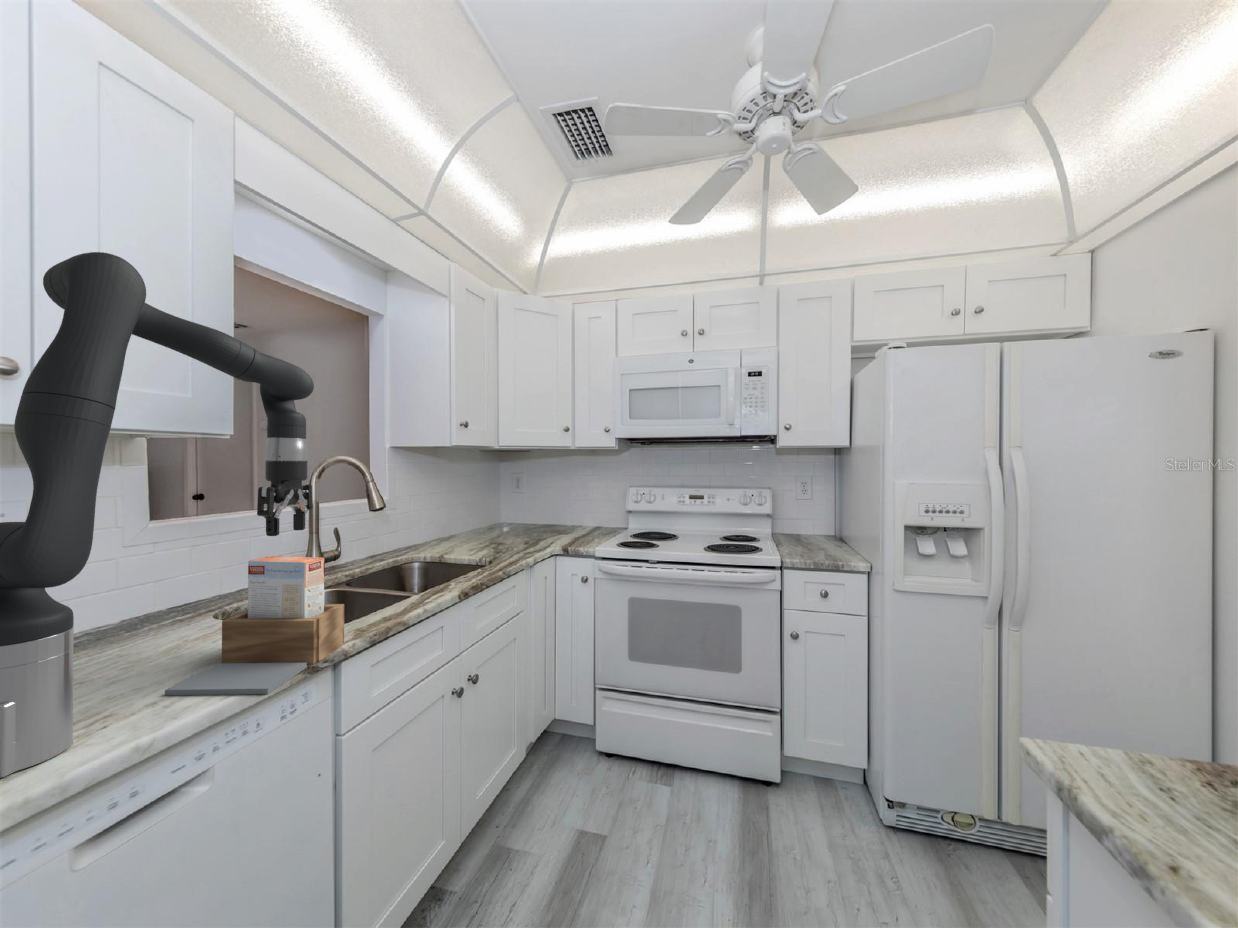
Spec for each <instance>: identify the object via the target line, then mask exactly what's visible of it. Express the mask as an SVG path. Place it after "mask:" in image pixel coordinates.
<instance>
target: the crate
mask: <svg viewBox="0 0 1238 928" xmlns="http://www.w3.org/2000/svg"><path fill="white" fill-rule="evenodd" d="M344 643H345V604H344V603H324V612H323V613H321V614H319V615H317V616H316V617H314V618H248V609H247V610H244V611H241V612H238V613H237V614H235V615H231V616H229V617H226V618H224V620H222V621H221V663H307V665H309V664H310V665H311V664H312V665H313V664H315V663H316V662H321V660H323V659H324V658H326V657H327V656H329V655H330V654H332V653H333V652H335V651H336V650H338V649H339V648H340V647H342V646H343V645H344Z"/></svg>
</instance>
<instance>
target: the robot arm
mask: <svg viewBox="0 0 1238 928" xmlns="http://www.w3.org/2000/svg"><path fill="white" fill-rule="evenodd" d="M42 277H43V278H42V285H43V288H44V291H45V293H46V294H47V296H48V297H49V298H50V300H51V301H52V302H53V303H54V304H56V305H57V306H58V307H59V308H61V309H62V310H63V315H62V316H63V317H62V321H61V324H60V326H59V328H58V331H57V333H56V335H55V336H54V338H53V339H52V341H51V343H50V344H49V345H48V347H47V348H46V350H45V351H44V353H42V356H41V357H40V358H39V359H38V361H37V363H36V364H35V366H34V367H33V369H32V371H31V372H30V373H29V376H28V378H27V380H26V382H25V384H24V387H23V389H22V393H21V396H20V399H19V403H18V406H17V409H16V414H15V419H14V433H15V434H14V435H15V438H16V441H17V444H18V446H19V449H20V452H21V453H22V456H23V458H24V460H25V462H26V464H27V466H28V468H29V471H30V474H31V479H32V484H33V485H32V487H33V489H32V496H31V501H30V505H29V510H28V513H27V515H26V516H27V517H26V519H25V521H3V522H0V778H5V777H7V776H9V775H11V774H13V773H16V772H18V771H21V770H24V769H26V768H27V769H28V768H30V767H32V766H33V767H34V766H35V765H37V764H40V763H43V762H46V761H48V760H49V759H52V758H54V757H56V756H58V755H59V754H61V753H63V752H65V751H66V750H67V749H69V747H71V745H72V744H73V737H74V736H73V735H74V733H73V732H74V635H75V634H74V632H75V631H74V618H75V617H74V612H73V609H72V608H71V607H69V606H68V605H65V604H63V603H61V602H59V601H57V600H55V599H54V598H53V597H51V595H50V594H49V593H48V592H47V591H46V589H48V588H55V587H60V586H62V585H65V584H67V583H68V582H71V581H72V580H74V579H75V578H76V577H77V576H78V575H79V574H80V573H81V572H82V570H83V569H84V568H85V567H86V565H87V563H88V560H89V558H90V555H91V551H92V546H93V542H94V541H93V540H94V529H95V517H96V516H95V515H96V503H97V493H98V487H99V482H100V477H101V472H102V466H103V460H104V455H105V454H104V453H105V450H106V445H107V442H108V438H109V435H110V432H111V428H112V424H113V419H114V414H115V411H116V407H117V400H118V393H119V390H120V386H121V382H122V377H123V371H124V366H125V358H126V354H127V349H128V345H129V342H130V340H131V338H132V337H131V336H136V337H138V338H141V339H143V340H147V341H149V342H151V343H155V344H157V345H160V346H162V347H165V348H167V349H170V350H173V351H175V352H178V353H180V354H182V355H185V356H186V357H189V358H192V359H193V360H196V361H198V362H201V363H202V364H205V365H207V366H209V367H211V368H213V369H216V370H218V371H219V372H222V373H223V374H225V375H228V376H230V377H232V378H234V379H237V380H238V381H242V382H247V383H254V384H259V393H260V397H261V401H262V406H263V409H264V412H265V415H266V420H267V421H266V422H267V424H266V437H267V438H266V444H265V462H264V463H265V464H264V466H265V476H264V477H265V480H266V481H267V482H270V486H259V487H258V490H257V504H256V505H257V507H256V509H257V511H256V515H257V516H258V517H263V518H264V519H265V533H266V537H277V536H279V535H280V516H281V513H282V511H283V510H285V509H286V508H287V506H288V507H290V508H291V509H292V512H293V517H292V519H293V521H292V523H293V530H294V531H304V530H305V529H306V514H307V513H308V511H311V510H312V509H313V507H314V506H313V485H312V484H308V483H307V484H304V483H303V482H304V481H307V480H308V445H307V419H306V416H305V414H303V413H301V412H298V411H297V409H296V403H295V401H297V400H298V401H301V400H304V399H307V398H308V397H309V396H311V395H312V393H313V392H314V390H315V385H314V381H313V378H312V377H311V376H310V374H309V373H307V371H306V370H304V369H303V368H301V367H299V366H298V365H295V364H293V363H291V362H288V361H285V360H283V359H280V358H278V357H275V356H273V355H269V354H266V353H263V352H262V351H259V350H257V349H256V348H254V347H252V346H251V345H249V344H247V343H246V342H243V341H242V340H240V339H238V338H236V337H234V336H231V335H229V334H227V333H226V332H222V331H221V330H218V329H215V328H213V327H209V326H207V325H203V324H200V323H197V322H195V321H191V320H187V319H184V318H182V317H179V316H175V315H173V314H170V313H168V312H165V311H164V310H161V309H159V308H156V307H154V306H152V305H150V304H149V303H146V299H147V288H146V284H145V281H144V279H143V276H142V275H141V274H140V272H139V271H138V270H137V269H136V268H135V266H134V265H132V264H131V263H130V262H129V261H127V260H126V259H124V258H122V257H120V256H118V255H116V254H112V253H108V252H103V251H101V252H100V251H93V252H92V251H90V252H84V253H80V254H76V255H74V256H72V257H69V258H67V259H65V260H63V261H60V262H58V263H56V264H54V265H53V266H52V267H50V268H48V269H47V271H46V272H45V273H44V275H43V276H42ZM306 503H307V504H306ZM265 507H266V509H265Z"/></svg>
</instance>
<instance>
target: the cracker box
mask: <svg viewBox="0 0 1238 928" xmlns="http://www.w3.org/2000/svg"><path fill="white" fill-rule="evenodd" d="M247 564H248V565H247V566H248V569H247V571H248V572H247V573H248V574H247V610H248V618H314V617H316V616H317V615H319V614H321V613H323V612H324V604H325V557H313V556H312V557H311V556H310V557H308V556H282V555H281V556H279V555H278V556H275V555H268V556H263V557H259V558H255V559H250V560H248V562H247Z"/></svg>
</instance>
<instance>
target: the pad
mask: <svg viewBox="0 0 1238 928" xmlns="http://www.w3.org/2000/svg"><path fill="white" fill-rule="evenodd" d="M307 665H308V664H307V663H222V662H221V663H214V664H212V665H210V666H209V667H207V668H204V669H203V670H200V671H198V672H197V673H195V674H193V675H190V676H189V677H187V678H185V679H183V680H181V681H180V682H177V683H175V684H173V685H171V686H170V687H168V688H165V689H164V696H213V695H214V696H216V695H219V696H221V695H222V696H225V695H226V696H228V695H235V696H236V695H269V694H271V693H272V692H273V691H274V690H276V689H278V688H279V687H280V686H283V684H285V683H286V682H288V681H289V680H291V679H292V678H293V677H295V676H296V675H297V674H300V673H301V672H302V671H304V670H306V668H307Z"/></svg>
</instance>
